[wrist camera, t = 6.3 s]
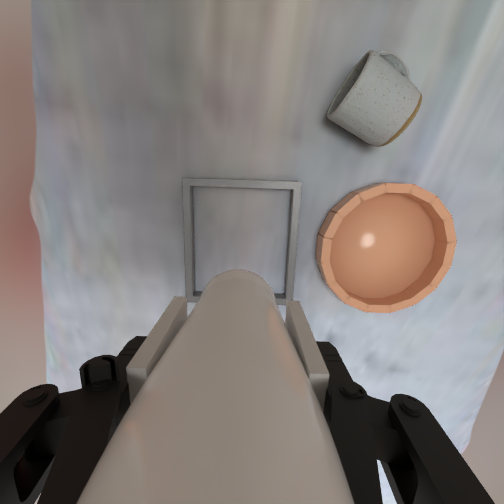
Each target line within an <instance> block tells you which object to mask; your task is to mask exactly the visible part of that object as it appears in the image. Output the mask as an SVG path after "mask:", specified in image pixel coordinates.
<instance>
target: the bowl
mask: <svg viewBox="0 0 504 504" xmlns="http://www.w3.org/2000/svg"><path fill="white" fill-rule="evenodd" d="M451 216H452V215H451V214H450V213H449V211H448V210H447V209H446V207H445V206H444V205H443V203H442V202H441V201H440V199H439V198H438V197H437V196H436V195H434V194H432V193H430V192H428V191H426V190H424V189H422V188H420V187H418V186H416V185H414V184H398V183H375V184H372V185H369V186H366V187H364V188H361V189H358V190H356V191H353V192H350V193H349V194H348V195H347V196H346V197H344V198H343V199H342V200H341V201H340V202H339V203H338V204H336V205H335V206H334V207H333V208H332V209H331V211H329V213H328V215H327V217H326V219H325V221H324V222H323V224H322V226H321V228H320V230H319V232H318V233H319V234H318V237H317V247H316V260H317V263H318V266H319V269H320V272H321V275H322V278H323V280H324V281H325V282H326V283H327V285H328V286H329V287H330V288H331V289H332V290H333V291H334V292H335V294H336V295H337V296H338V297H339V298H340V299H341V300H342V301H343V302H344V303H346V304H348V305H350V306H353V307H355V308H357V309H359V310H362V311H364V312H365V311H366V312H377V313H390V312H395V311H398V310H401V309H404V308H407V307H410V306H413V305H414V304H417V303H418V302H419V301H421V300H422V299H423V298H425V297H426V296H427V295H428V294H430V293H431V292H432V291H434V290H435V288H437V287H438V285H439V284H440V282H441V281H442V279H443V278H444V276H445V275H446V273H447V272H448V270H449V269H450V267H449V266H451V264H452V259H453V255H454V251H455V247H456V242H455V241H457V240H456V235H455V229H454V224H453V218H452V217H451Z"/></svg>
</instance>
